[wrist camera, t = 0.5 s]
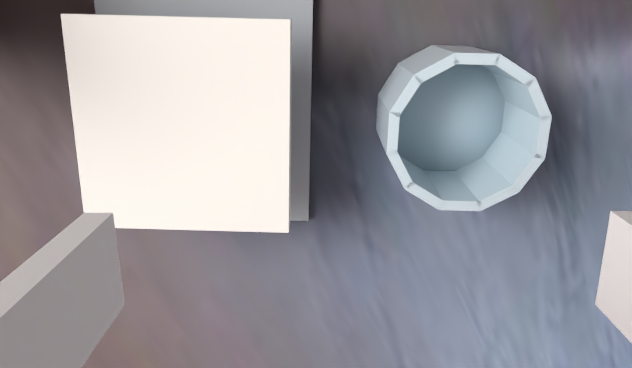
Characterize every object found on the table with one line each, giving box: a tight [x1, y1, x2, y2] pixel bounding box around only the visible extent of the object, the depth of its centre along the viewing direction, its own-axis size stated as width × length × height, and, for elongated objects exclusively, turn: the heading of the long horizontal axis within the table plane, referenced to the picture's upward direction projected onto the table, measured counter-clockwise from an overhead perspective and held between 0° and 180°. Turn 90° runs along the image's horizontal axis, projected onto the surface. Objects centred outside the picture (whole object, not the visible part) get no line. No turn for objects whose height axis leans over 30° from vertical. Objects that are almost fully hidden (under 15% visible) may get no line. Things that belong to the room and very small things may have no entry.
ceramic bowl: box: [376, 45, 552, 211], centre depth 33 cm, size 9×9×7 cm
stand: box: [94, 0, 313, 221], centre depth 34 cm, size 16×14×6 cm
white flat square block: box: [61, 14, 292, 233], centre depth 31 cm, size 12×12×2 cm
